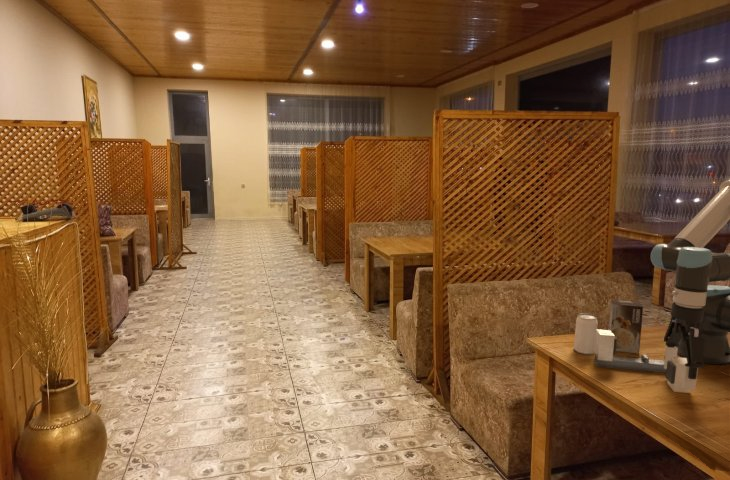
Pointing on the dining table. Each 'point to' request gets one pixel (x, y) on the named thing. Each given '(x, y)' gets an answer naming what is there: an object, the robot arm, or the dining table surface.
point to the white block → (676, 374)
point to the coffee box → (626, 324)
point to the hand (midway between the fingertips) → (678, 378)
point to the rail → (605, 358)
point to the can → (585, 333)
